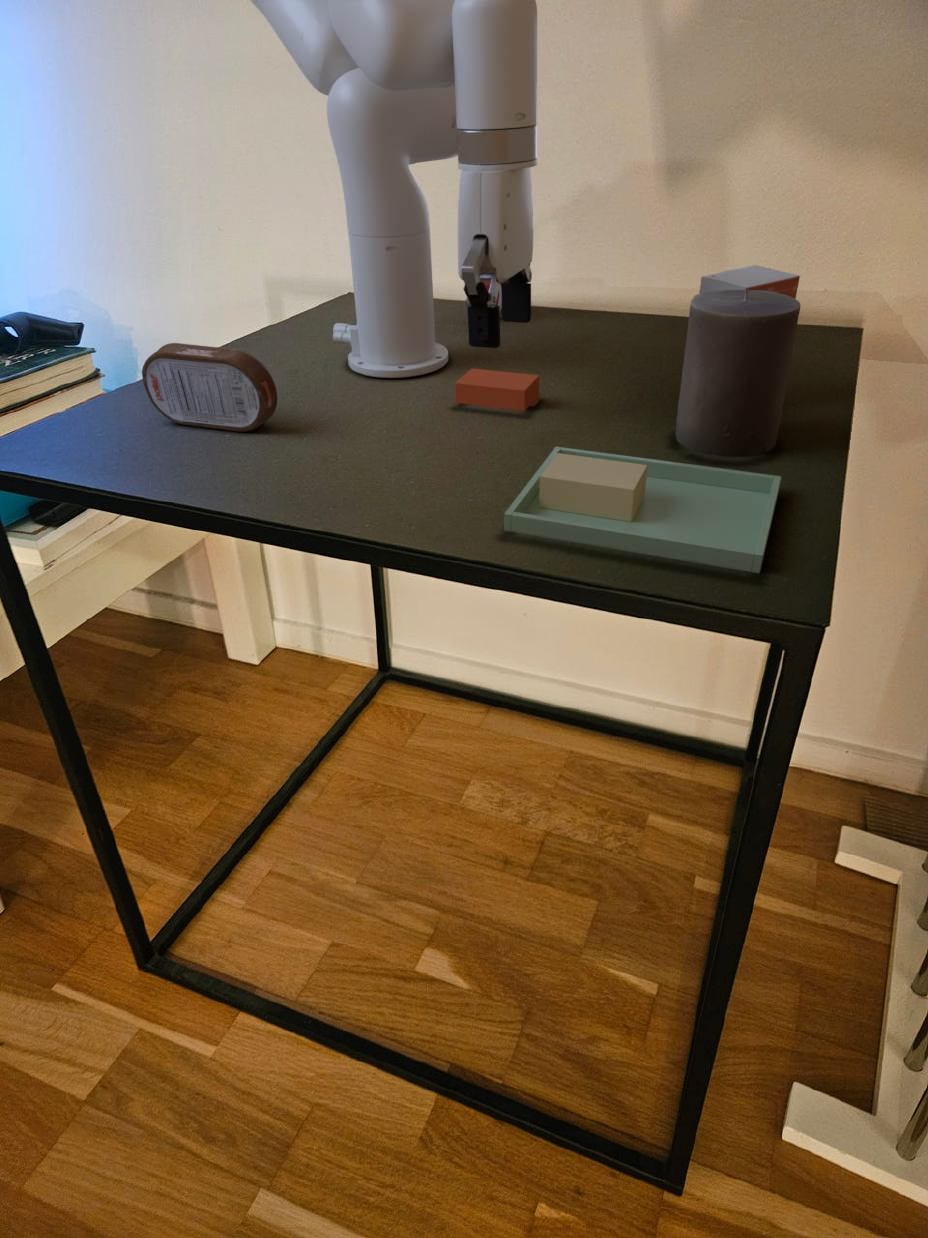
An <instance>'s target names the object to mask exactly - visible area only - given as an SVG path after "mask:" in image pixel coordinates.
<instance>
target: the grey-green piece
mask: <svg viewBox="0 0 928 1238" xmlns="http://www.w3.org/2000/svg"><path fill="white" fill-rule="evenodd" d="M557 453H561V454H568V455H576V456H583V457H590V458H598V459H605V460H613V461H620V462H628V463H635V464H643V465H647V466H648V467H647V477H646V487H645V496H644V498H643V500H642V502H641V504H640V506H639V508H638V510H637V512H636V514H635V516H634V518H633V520H632V522H628V521H621V520H615V519H608V518H602V517H596V516H589V515H583V514H576V513H570V512H564V511H557V510H551V509H545V508H540V507H539V500H540V476H541V474H542V473H543V472H544V470H545V469H546V468H547V466H548V465H549V464H550V462H551V461H552V460H553V458H554V457H555V456H556V454H557ZM781 482H782V476H781V475H774V474H766V473H758V472H751V471H744V470H737V469H730V468H721V467H713V466H707V465H699V464H690V463H684V462H683V463H681V462H675V461H668V460H662V459H661V460H660V459H653V458H645V457H638V456H629V455H621V454H614V453H607V452H600V451H591V450H584V449H577V448H569V447H561V446H555V447H554V448H553V449H552V451H551V452H550V454H548V456H547V457H546V459H545V460H544V462H543V463H542V464H541V465H540V466H539V468H537V470H536V472H535V473H534V474H533V475H532V477H531V479H529V481H527V483H526V484H525V486H524V488H523V489H522V490H521V491H520V492H519V494H518V495H517V496H516V498H515V499H514V501H513V502H512V503H511V504H510V505H509V507H508V508H507V510H505V512H504V514H503V519H504V522H503V523H504V525H503V526H504V527H503V528H504V529H503V530H504V531H505V532H512V533H516V534H517V533H518V534H523V535H529V536H535V537H541V538H548V539H552V540H558V541H559V540H560V541H565V542H570V543H571V542H572V543H577V544H584V545H588V546H594V547H601V548H607V549H614V550H619V551H624V552H631V553H637V554H643V555H647V556H648V555H649V556H655V557H660V558H665V559H673V560H677V561H678V560H679V561H684V562H689V563H696V564H702V565H707V566H713V567H719V568H726V569H731V570H738V571H745V572H749V573H756V574H760V573H761V569H762V566H763V562H764V557H765V552H766V549H767V543H768V540H769V535H770V532H771V531H770V530H771V526H772V524H773V523H772V522H773V518H774V514H775V510H776V504H777V500H778V496H779V492H780V487H781Z"/></svg>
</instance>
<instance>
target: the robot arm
mask: <svg viewBox="0 0 928 1238" xmlns="http://www.w3.org/2000/svg"><path fill="white" fill-rule="evenodd" d="M249 1H250V2H251V3H252V4H253V5H254V7H256V9H257V10H258V11H259V12H260V13H261V14H262V15H263V17H264V18H265V19H266V21H267V22H268V23H269V25H270V27H271V28H272V30H273V32H274V33H275V34H276V36H277V38H278V39H279V41H280V42H281V43H282V45H283V46H284V48H285V50H287V52H288V54H289V55H290V57H291V58H292V59H293V61H294V62H295V64H296V65H297V67H298V68H299V70H300V71H301V73H302V74H303V76H304V77H305V78H306V80H307V81H308V82H309V84H310V85H311V86H312V87H313V88H314V89H315V90H317V92H319V93H321V94H322V95H325V96H327V102H326V118H327V125H328V130H329V134H330V138H331V141H332V146H333V150H334V153H335V157H336V161H337V165H338V170H339V175H340V179H341V185H342V192H343V199H344V206H345V216H346V217H345V218H346V226H347V233H348V234H347V235H348V246H349V254H350V264H351V276H352V286H353V287H352V288H353V296H354V306H355V316H356V324H355V325H353V324H349V323H341V322H336V323H335V324H334V325H333V328H332V333H333V334H332V341H333V343H335V344H343V345H344V344H349V346H350V347H351V351H350V352H349V354H348V355H347V361H348V367H349V368H350V369H351V370H352V371H353V372H355V373H357V374H360V375H362V376H365V377H366V376H367V377H371V378H373V377H374V378H381V379H401V378H402V379H403V378H411V377H412V378H413V377H418V376H422V375H427V374H429V373H432V372H436V371H438V370H440V369H442V368H443V367H445V366H446V364H447V363H448V362H449V351H448V349H447V347H446V346H444V345H442V344H441V343H438V342H436V329H435V327H436V325H435V308H434V284H433V283H434V282H433V265H432V264H433V262H432V243H431V226H430V225H431V224H430V223H431V222H430V212H429V206H428V202H427V198H426V197H425V195H424V192H423V191H422V188H421V187H420V185H419V184H418V182H417V181H416V178H415V177H414V176H413V173H412V172H411V170H410V166H409V165H415V164H418V163H426V162H434V161H435V162H436V161H441V160H447V159H453V158H456V157H457V161H458V162H457V165H458V170H461V171H460V178H459V188H458V200H457V201H458V203H457V272H458V273H457V274H458V277H459V278H460V280H462V281H463V282H464V286H463V292H464V294H465V295H466V296H465V306H466V307H467V326H468V328H467V329H468V344H469V346H470V347H474V348H485V349H486V348H488V349H497V348H499V347H500V346H501V319H502V321H503V322H507V323H522V324H523V323H524V324H527V323H529V322H531V320H532V283H531V282H532V278H533V273H532V269H531V263H532V262H533V254H534V253H533V252H534V205H533V188H532V187H533V186H532V185H533V184H532V173H531V168H534V167H536V166H538V6H537V5H538V4H537V1H536V0H249ZM504 281H506V282H504ZM500 282H503V283H501V292H502V318H500V306H495V305H496V300H497V296H498V291H499V287H500ZM485 284H490V288H489V293H488V291H487V289H486V287H485Z"/></svg>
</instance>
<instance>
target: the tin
mask: <svg viewBox="0 0 928 1238" xmlns="http://www.w3.org/2000/svg"><path fill="white" fill-rule="evenodd" d="M141 376H142V377H141V378H142V383H143V387H144V390H145V392H146V394H147V396H148V399H149V401H150V403H151V404H152V405H153V407H154V408H155V409H156V410H157V411H158V412H159V413H160V414H161V415H162V416H163V417H165V418H166V419H168V420H169V421H171V422H173V423H175V424H179V425H184V426H193V427H201V428H208V429H217V430H223V431H224V430H225V431H229V432H230V431H231V432H242V433H245V432H251V431H253V430H255V429H257V428H259V427H260V426H261V425H262V424H263V423H265V422H267V421H268V420H270V419H271V417H273V415H274V414H275V411H276V409H277V406H278V391H277V386H276V383H275V381H274V378H273V377H272V374H271V373H270V371H269V370H268V369H267V367H266V366H265V365H264V363H262V362H261V361H260V360H259V359H258V358H256V357H255V356H254V355H253V354H250V353H249V352H247V351H244V350H241V349H237V348H229V347H220V346H210V345H209V346H208V345H199V344H190V343H179V342H170V343H167V344H164V345H162V346H160V348H158V350H157V351H155V352H154V353H152V354H151V355H150V356H149V357H147V358H146V360H145V361H144V363H143V365H142V369H141Z"/></svg>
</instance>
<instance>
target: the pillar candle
mask: <svg viewBox="0 0 928 1238" xmlns="http://www.w3.org/2000/svg"><path fill="white" fill-rule="evenodd" d="M800 311H801V302H800V301H799V300H797V298H796V299H794V298H792V297H790V296H787V295H783V294H779V293H777V292H768V291H761V290H754V291H753V290H748V288H747V287H745V290H722V291H712V292H707V293H702V294H699V293H698V294H695V295H694V296H693V298H691V300H690V305H689V313H688V323H687V332H686V339H685V349H684V356H683V364H682V373H681V382H680V390H679V394H678V395H679V396H678V403H677V404H678V405H677V414H676V421H675V425H676V426H675V439H676V441H677V443H679V444H680V445H682V446H683V447H685V448H687V449H688V450H691V451H694V452H698V453H701V454H706V455H710V456H717V457H730V458H731V457H736V458H738V457H752V456H756V455H760V454H763V453H767V452H770V451H771V450H773V448H775V446H776V445H777V439H778V434H779V429H780V423H781V417H782V413H783V407H784V402H785V396H786V390H787V385H788V379H789V375H790V374H789V373H790V367H791V362H792V356H793V350H794V345H795V340H796V334H797V330H798V329H797V328H798V322H799V316H800Z"/></svg>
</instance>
